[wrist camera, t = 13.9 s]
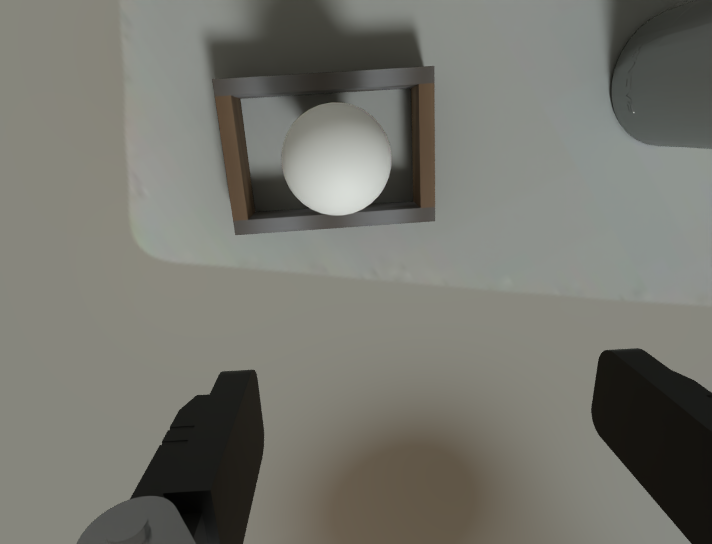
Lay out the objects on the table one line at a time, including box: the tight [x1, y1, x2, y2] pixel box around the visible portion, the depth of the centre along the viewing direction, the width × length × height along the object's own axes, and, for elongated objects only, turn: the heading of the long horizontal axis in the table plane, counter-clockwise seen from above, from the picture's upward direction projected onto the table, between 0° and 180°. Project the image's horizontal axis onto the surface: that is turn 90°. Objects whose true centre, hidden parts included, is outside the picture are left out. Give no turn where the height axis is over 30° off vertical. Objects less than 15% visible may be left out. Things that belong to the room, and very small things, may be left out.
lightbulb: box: [281, 102, 392, 215], centre depth 27 cm, size 6×6×11 cm
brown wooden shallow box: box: [212, 66, 435, 235], centre depth 31 cm, size 14×10×3 cm
